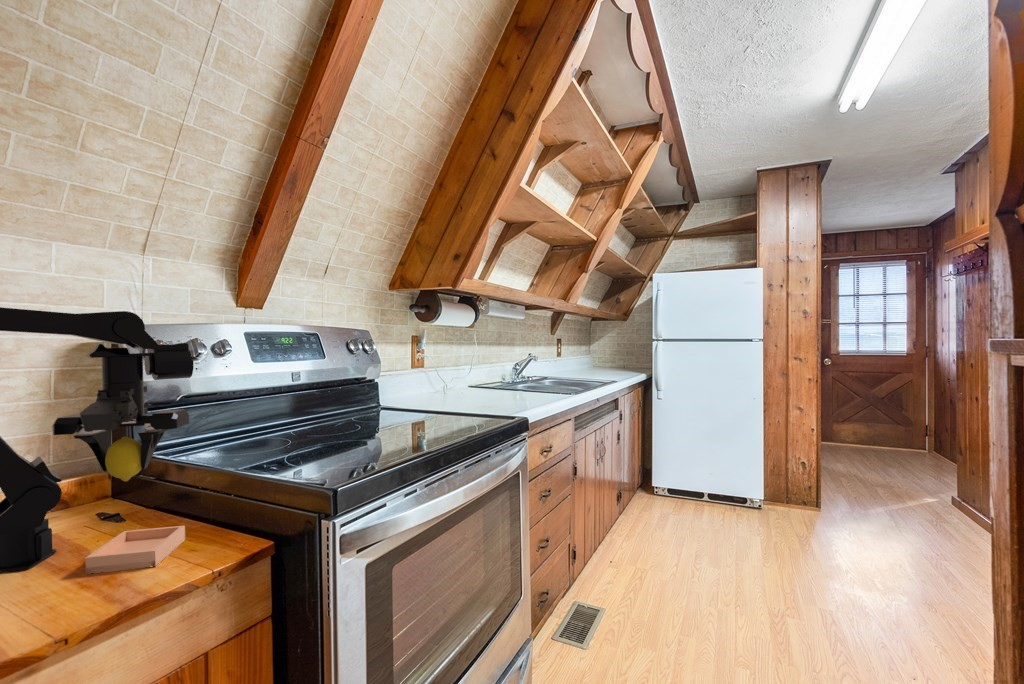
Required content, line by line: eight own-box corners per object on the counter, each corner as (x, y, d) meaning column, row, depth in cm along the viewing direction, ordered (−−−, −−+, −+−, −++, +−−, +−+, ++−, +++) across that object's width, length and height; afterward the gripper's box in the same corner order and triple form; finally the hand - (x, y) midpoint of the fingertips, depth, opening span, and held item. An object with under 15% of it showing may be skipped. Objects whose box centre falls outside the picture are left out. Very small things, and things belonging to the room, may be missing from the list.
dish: (85, 574, 73) (85, 557, 73) (124, 545, 83) (124, 531, 83) (155, 567, 75) (155, 550, 75) (185, 539, 85) (184, 525, 85)
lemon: (99, 483, 86) (98, 438, 86) (135, 475, 91) (134, 432, 91) (115, 487, 84) (114, 440, 84) (151, 479, 88) (150, 434, 88)
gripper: (26, 389, 77) (29, 487, 77) (160, 384, 81) (163, 478, 81) (73, 382, 88) (75, 469, 88) (189, 379, 92) (191, 461, 92)
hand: (125, 469), depth 87 cm, fingers closed on lemon, 5 cm apart
